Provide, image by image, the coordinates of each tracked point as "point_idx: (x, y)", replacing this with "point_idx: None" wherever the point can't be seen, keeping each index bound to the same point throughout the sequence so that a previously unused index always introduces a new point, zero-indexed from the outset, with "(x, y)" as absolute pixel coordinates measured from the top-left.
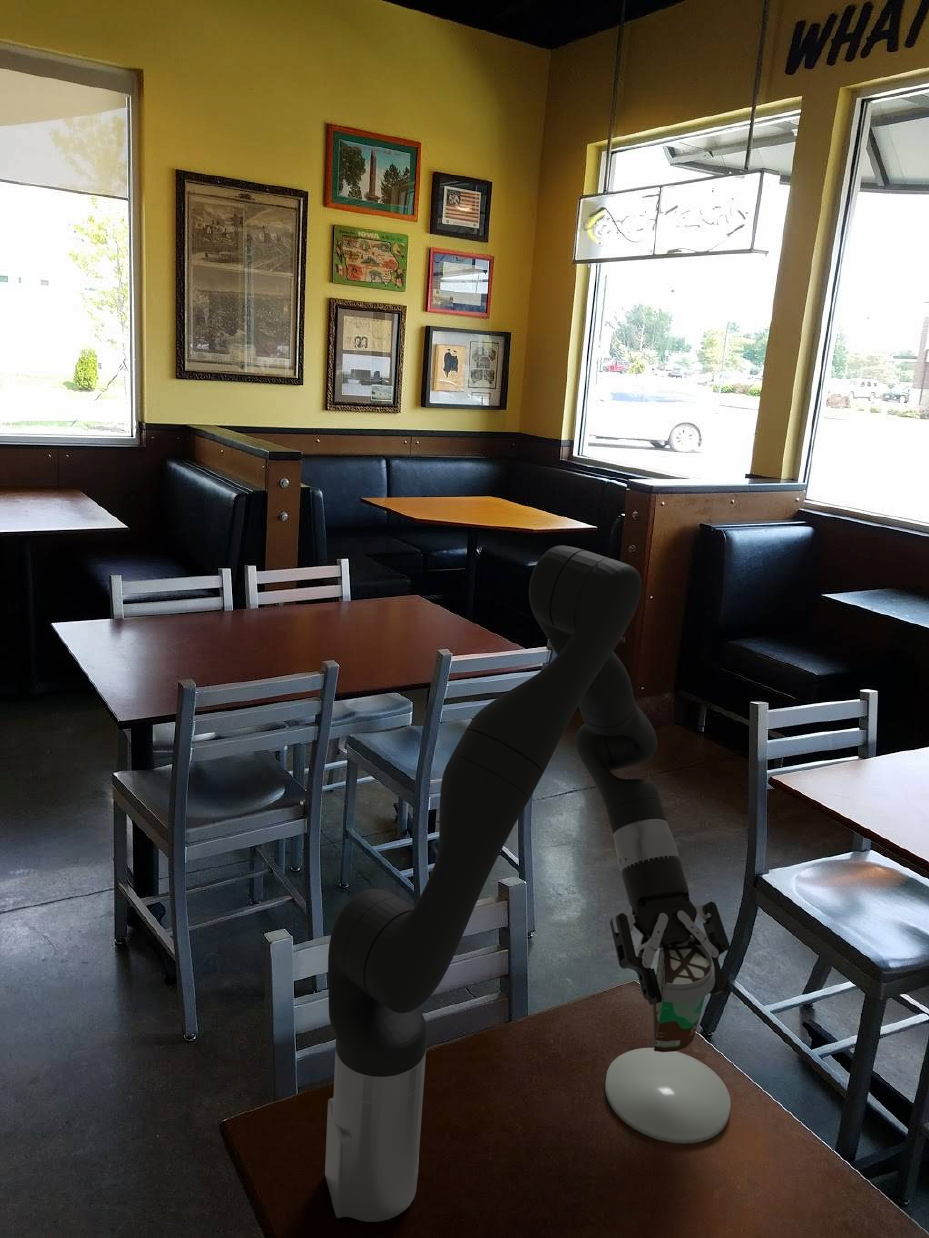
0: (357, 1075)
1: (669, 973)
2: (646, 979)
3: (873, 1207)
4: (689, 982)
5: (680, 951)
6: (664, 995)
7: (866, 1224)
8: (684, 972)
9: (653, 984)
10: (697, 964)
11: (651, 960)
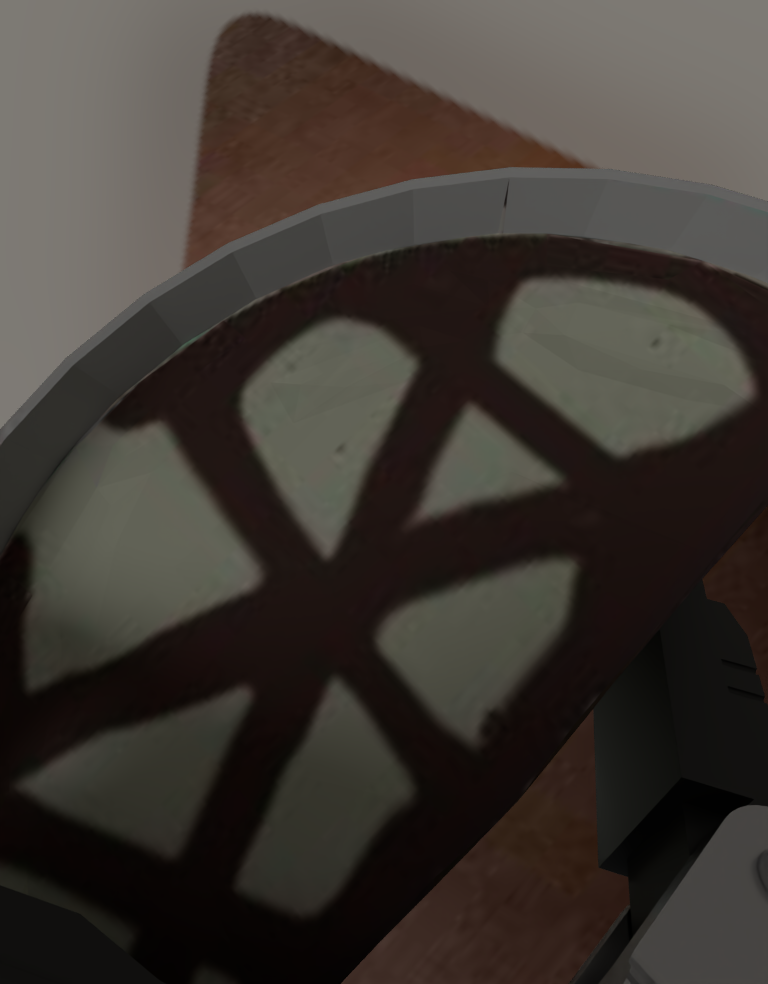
0: None
1: (660, 548)
2: (758, 734)
3: (234, 56)
4: (544, 325)
5: (183, 815)
6: None
7: (293, 34)
8: (470, 472)
9: (717, 649)
10: (206, 508)
11: (712, 875)
